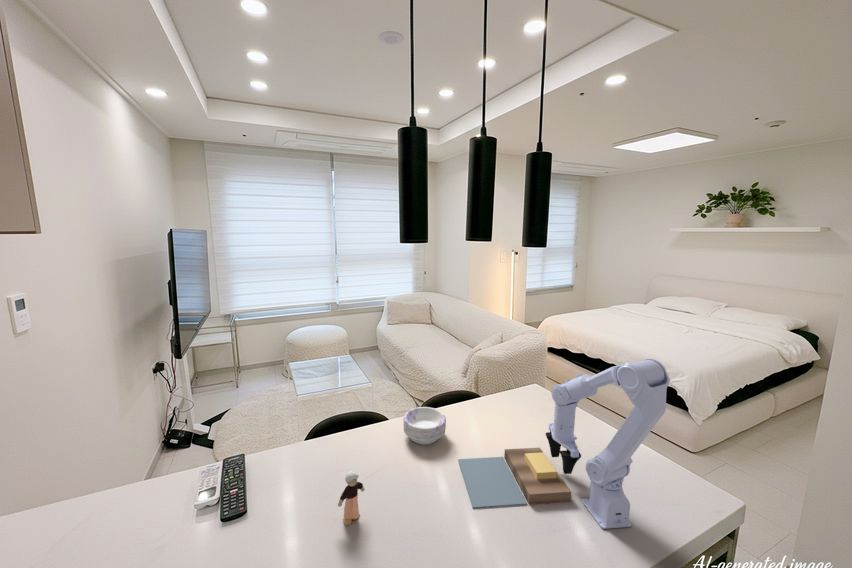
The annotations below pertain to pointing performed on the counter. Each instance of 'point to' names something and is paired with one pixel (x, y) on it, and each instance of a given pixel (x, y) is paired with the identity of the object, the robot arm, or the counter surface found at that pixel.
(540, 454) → the yellow flat block
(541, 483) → the brown wooden board
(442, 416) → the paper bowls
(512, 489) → the mat
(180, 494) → the counter surface
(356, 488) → the grandmother figurine
